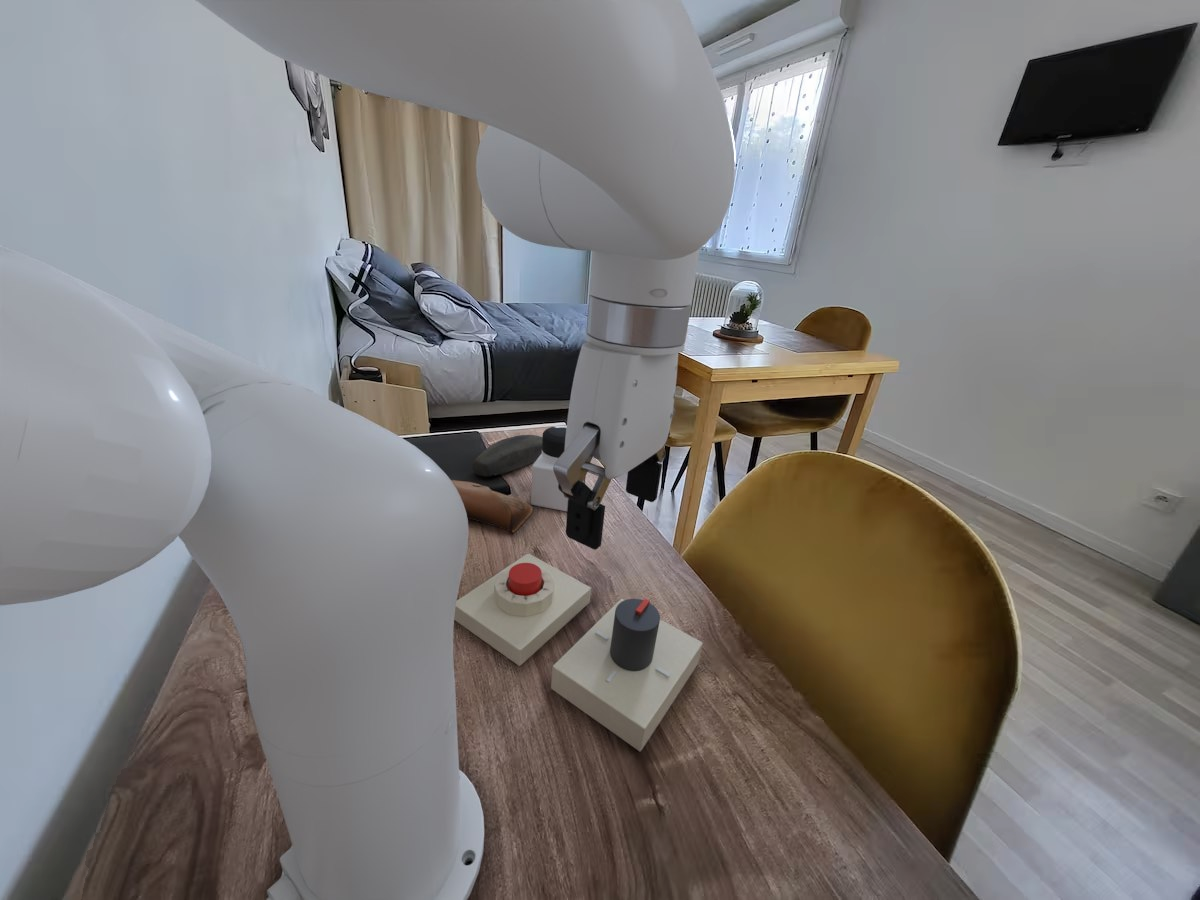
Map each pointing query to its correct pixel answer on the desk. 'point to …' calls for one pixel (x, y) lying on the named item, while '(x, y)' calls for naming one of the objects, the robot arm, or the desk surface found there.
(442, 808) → the robot arm
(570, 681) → the timer panel
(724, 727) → the desk surface
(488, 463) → the decorative stone
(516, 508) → the sunglasses case
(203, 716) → the desk surface
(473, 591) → the button block
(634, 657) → the timer knob
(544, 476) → the medicine bottle
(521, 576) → the power button
